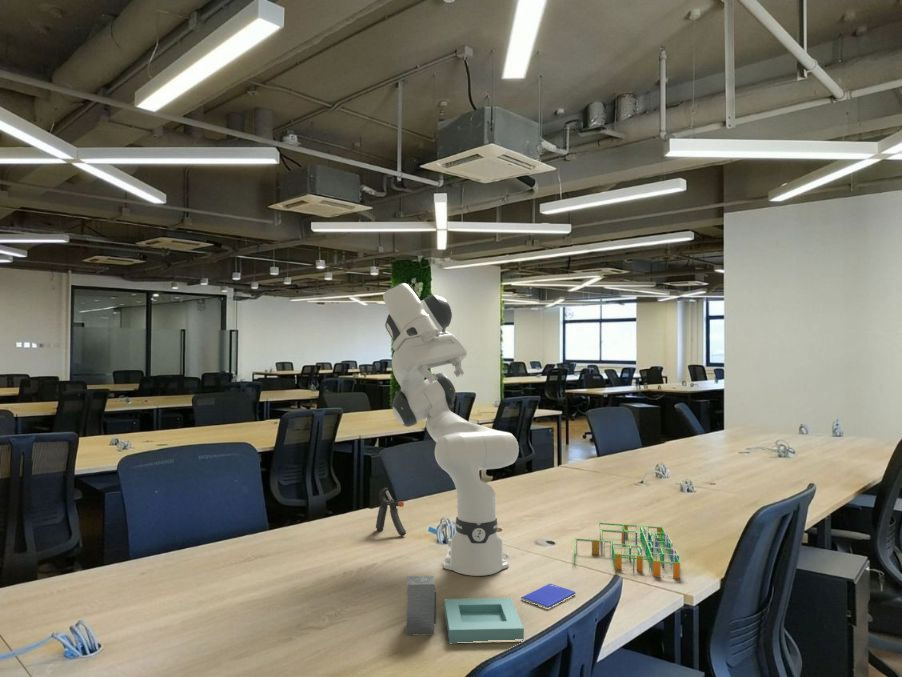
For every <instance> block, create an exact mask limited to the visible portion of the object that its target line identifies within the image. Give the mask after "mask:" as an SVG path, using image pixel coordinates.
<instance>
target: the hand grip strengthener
mask: <svg viewBox="0 0 902 677" xmlns="http://www.w3.org/2000/svg"><path fill="white" fill-rule="evenodd" d="M386 496H387V498H388V499H387V498H386ZM378 498H379V501H380V502H381V503H380V505H379V509H378V513H377V518H376V522H375V523H376V524H375V528H376V531H377V532H383V531H384V528H385V521H386V516H387V511H388V508H389V513H390V517H391V520H392V523H393V526H394V527H395V530H396V531H397V533H398V535H400V537H403V536H405V535H406V534H407V533H406V531H407V530H406V529H405V528H404V526H403V523H402V521H401V519H400V516H399V511H398V508H397V507H400V508H403V507H404V505H405V503H404V501H395V500H394V499H393V497H392V496H391V494H390V492H389V487H384V488H381V489H380V491H379V497H378Z"/></svg>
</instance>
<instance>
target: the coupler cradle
mask: <svg viewBox="0 0 902 677" xmlns="http://www.w3.org/2000/svg"><path fill="white" fill-rule="evenodd" d="M443 601H444V605H443V607H444V608H443V610H444V611H443V612H444V619H446V620H445V626H446V625H447V626H446V632H447V631H448V633H447V637H448V638H449V639H448V644H449V643H457V642H473V641H488V640H515V639H523V640H524V638H525V635H524V634H525V632H524V630H525V628H524V626H523V622H522V620H521V619H520V616H519V614H518V611H517V609H516V607H515V604H514V603H513V599H512V597H495V598H494V597H492V598H491V597H489V598H488V597H485V598H484V597H483V598H445V599H444V600H443ZM523 640H522V641H523ZM524 641H525V640H524ZM520 642H521V641H520ZM521 643H522V642H521Z"/></svg>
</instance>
